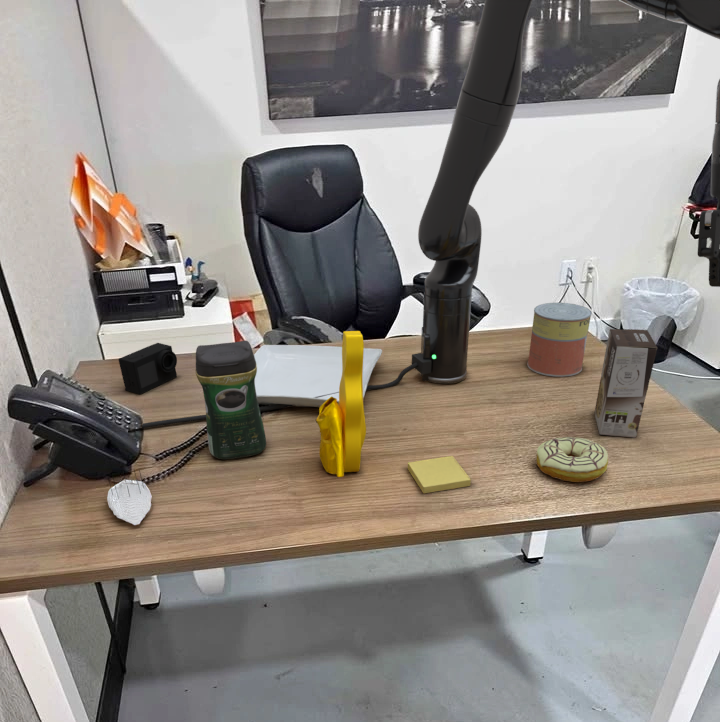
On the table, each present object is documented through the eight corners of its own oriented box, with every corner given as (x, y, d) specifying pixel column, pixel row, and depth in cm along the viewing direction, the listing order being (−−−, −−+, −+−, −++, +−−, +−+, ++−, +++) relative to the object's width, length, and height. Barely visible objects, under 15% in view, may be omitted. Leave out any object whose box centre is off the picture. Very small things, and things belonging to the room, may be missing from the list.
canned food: (588, 376, 134) (598, 319, 127) (533, 377, 134) (540, 320, 128) (574, 356, 143) (582, 302, 137) (522, 356, 144) (529, 302, 137)
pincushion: (159, 522, 93) (152, 489, 90) (115, 533, 91) (105, 499, 88) (146, 482, 102) (139, 450, 99) (105, 491, 100) (97, 459, 97)
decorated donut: (538, 448, 109) (541, 428, 107) (606, 457, 106) (610, 437, 104) (531, 479, 100) (534, 458, 99) (604, 490, 97) (609, 469, 95)
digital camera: (143, 396, 130) (136, 363, 126) (125, 390, 132) (117, 358, 129) (181, 378, 137) (176, 346, 134) (163, 373, 140) (157, 341, 136)
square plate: (383, 363, 142) (383, 346, 140) (361, 419, 119) (361, 400, 117) (263, 357, 146) (262, 341, 144) (220, 411, 123) (217, 392, 121)
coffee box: (637, 438, 111) (658, 347, 103) (598, 435, 112) (615, 345, 104) (630, 414, 119) (649, 328, 110) (593, 412, 120) (609, 327, 111)
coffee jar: (263, 434, 115) (252, 332, 105) (269, 456, 108) (257, 349, 99) (207, 442, 113) (191, 339, 103) (210, 464, 106) (192, 356, 97)
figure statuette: (311, 442, 112) (303, 317, 101) (356, 437, 113) (353, 313, 102) (327, 498, 97) (319, 358, 86) (378, 491, 99) (377, 353, 87)
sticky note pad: (423, 493, 98) (423, 487, 97) (407, 468, 104) (407, 462, 103) (470, 486, 99) (471, 479, 99) (452, 461, 106) (452, 455, 105)
